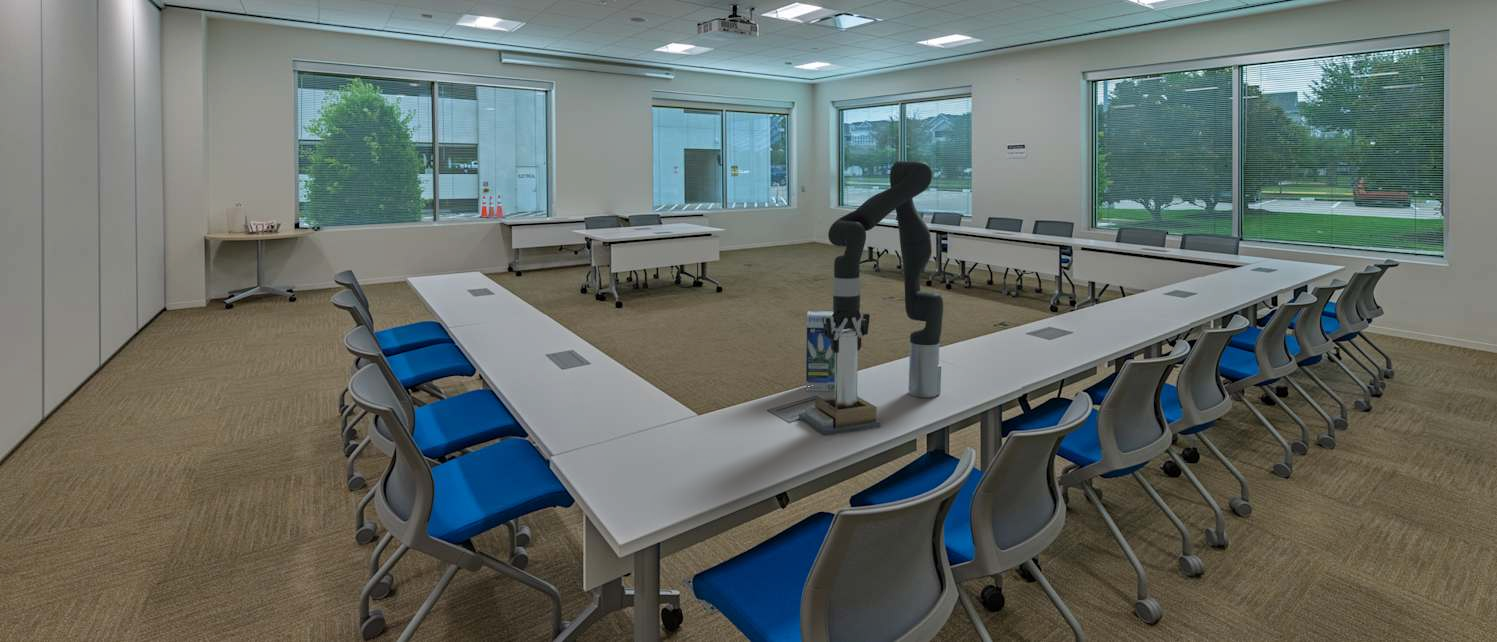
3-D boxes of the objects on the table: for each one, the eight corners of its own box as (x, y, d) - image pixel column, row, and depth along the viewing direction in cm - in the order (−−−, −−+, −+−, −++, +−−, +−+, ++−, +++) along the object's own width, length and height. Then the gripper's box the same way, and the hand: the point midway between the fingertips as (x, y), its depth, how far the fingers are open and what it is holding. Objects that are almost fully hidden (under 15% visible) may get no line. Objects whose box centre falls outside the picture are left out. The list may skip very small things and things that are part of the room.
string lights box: (806, 391, 242) (806, 315, 237) (806, 385, 250) (806, 310, 245) (846, 392, 241) (847, 315, 236) (845, 385, 248) (846, 310, 243)
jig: (853, 410, 222) (853, 393, 221) (880, 426, 207) (880, 408, 206) (799, 418, 216) (799, 400, 215) (823, 435, 201) (823, 416, 200)
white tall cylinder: (856, 419, 208) (857, 333, 203) (833, 418, 210) (833, 333, 205) (857, 412, 215) (858, 328, 210) (835, 411, 216) (835, 328, 211)
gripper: (862, 289, 211) (861, 345, 214) (817, 293, 206) (817, 350, 209) (875, 293, 204) (875, 351, 207) (829, 297, 199) (829, 356, 202)
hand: (846, 351), depth 208 cm, fingers closed on white tall cylinder, 6 cm apart
